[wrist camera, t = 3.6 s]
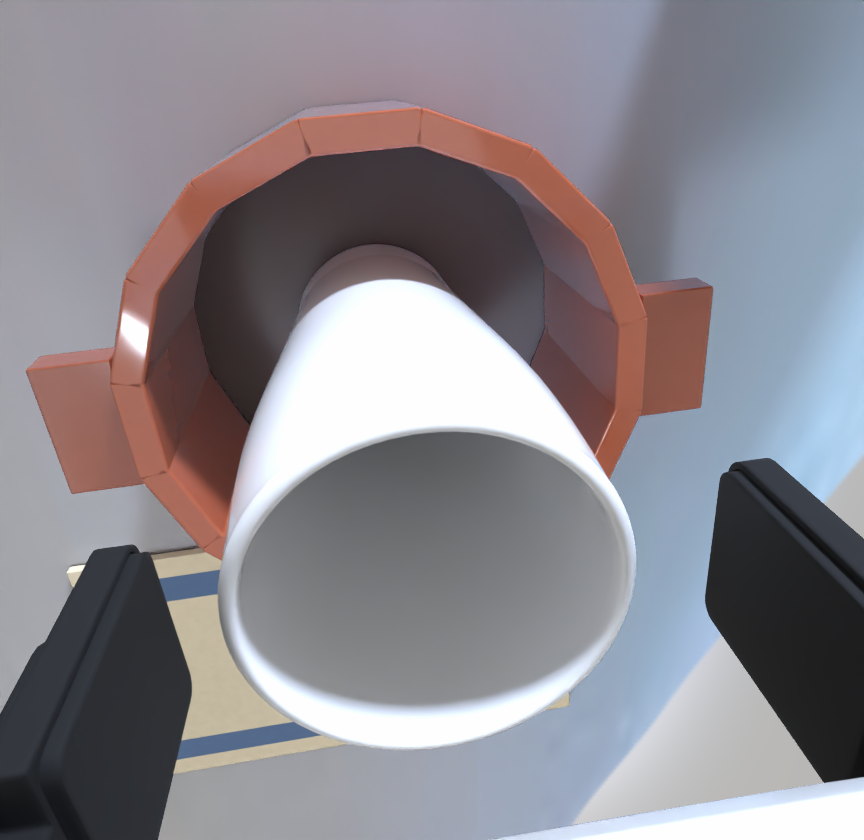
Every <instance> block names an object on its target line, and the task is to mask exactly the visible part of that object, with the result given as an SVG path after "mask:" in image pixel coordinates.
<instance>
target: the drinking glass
mask: <svg viewBox="0 0 864 840" xmlns="http://www.w3.org/2000/svg"><path fill="white" fill-rule="evenodd" d="M635 578H636V547H635V540H634V534H633V530H632V526H631V523H630V519H629V516H628V514H627V512H626V509H625V507H624V504H623V502H622V500H621V498H620V497H619V495H618V493H617V491H616V489H615V488H614V486H613V485H612V483H611V482H610V480H609V479H608V477H607V476H606V474H605V472H604V470H603V469H602V467H601V465H600V463H599V462H598V460H597V458H596V456H595V455H594V453H593V451H592V450H591V448H590V446H589V445H588V443H587V442H586V440H585V438H584V437H583V435H582V434H581V432H580V431H579V429H578V428H577V426H576V425H575V423H574V422H573V420H572V419H571V417H570V416H569V415H568V413H567V412H566V410H565V409H564V408H563V406H562V405H561V403H560V402H559V401H558V399H557V398H556V397H555V395H554V394H553V393H552V391H551V390H550V389H549V387H548V386H547V385H546V384H545V383H544V381H543V380H542V379H541V378H540V377H539V375H538V374H537V373H536V372H535V371H534V370H533V369H532V368H531V367H530V365H529V364H528V363H527V362H526V361H525V360H524V359H523V358H522V357H521V356H520V355H519V354H518V353H517V352H516V351H515V350H514V349H513V348H512V347H511V346H510V345H509V344H508V343H507V342H506V341H505V340H504V339H503V338H502V337H501V336H500V335H499V334H498V333H496V332H495V331H494V330H493V329H492V328H491V327H490V326H489V325H488V324H487V323H486V322H485V321H484V320H483V319H481V318H480V317H479V316H478V315H477V314H476V313H475V312H474V311H473V310H472V309H471V308H470V307H469V306H468V305H467V304H466V303H464V302H463V301H462V300H461V299H460V298H459V297H458V296H457V295H456V294H455V293H454V292H453V291H452V290H451V289H450V288H449V287H448V286H447V284H446V283H445V281H444V279H443V278H442V277H441V275H440V274H439V273H438V272H437V271H436V269H435V268H434V267H433V266H432V265H430V264H429V263H428V262H427V261H426V260H424V259H423V258H421V257H420V256H418V255H417V254H415V253H413V252H411V251H408V250H406V249H403V248H400V247H397V246H392V245H385V244H369V245H362V246H357V247H354V248H350V249H348V250H345V251H343V252H341V253H339V254H337V255H336V256H334V257H333V258H331V259H330V260H328V261H327V262H326V263H325V264H323V265H322V266H321V267H320V268H319V269H318V270H317V272H316V273H315V274H314V275H313V277H312V278H311V280H310V281H309V283H308V285H307V286H306V288H305V290H304V293H303V295H302V298H301V302H300V305H299V311H298V316H297V319H296V321H295V323H294V326H293V328H292V330H291V332H290V335H289V337H288V339H287V341H286V344H285V346H284V348H283V350H282V353H281V355H280V357H279V359H278V361H277V363H276V366H275V368H274V370H273V372H272V374H271V377H270V379H269V381H268V383H267V385H266V388H265V390H264V392H263V395H262V397H261V399H260V402H259V404H258V407H257V409H256V412H255V414H254V417H253V419H252V422H251V425H250V428H249V430H248V434H247V437H246V440H245V443H244V447H243V450H242V454H241V458H240V462H239V465H238V469H237V473H236V477H235V482H234V486H233V491H232V496H231V502H230V507H229V513H228V520H227V526H226V533H225V540H224V547H223V555H222V563H221V567H220V573H219V580H218V601H217V602H218V612H219V621H220V625H221V629H222V633H223V637H224V640H225V643H226V645H227V648H228V651H229V653H230V655H231V657H232V659H233V661H234V663H235V665H236V667H237V668H238V670H239V671H240V673H241V674H242V676H243V677H244V679H245V680H246V681H247V683H248V684H249V685H250V686H251V687H252V688H253V689H254V691H255V692H256V693H257V694H258V695H259V696H260V697H261V698H262V699H263V700H264V701H266V702H267V703H268V704H269V705H270V706H271V707H272V708H274V709H275V710H277V711H278V712H279V713H281V714H282V715H283V716H285V717H286V718H288V719H290V720H291V721H293V722H295V723H296V724H298V725H300V726H302V727H304V728H306V729H308V730H310V731H312V732H315V733H317V734H320V735H322V736H325V737H328V738H330V739H334V740H337V741H340V742H344V743H347V744H352V745H357V746H362V747H368V748H376V749H386V750H423V749H435V748H442V747H449V746H454V745H459V744H464V743H468V742H472V741H476V740H479V739H482V738H486V737H489V736H492V735H494V734H497V733H500V732H503V731H505V730H507V729H510V728H512V727H514V726H516V725H519V724H521V723H523V722H525V721H527V720H528V719H530V718H532V717H534V716H536V715H538V714H539V713H541V712H542V711H544V710H546V709H547V708H549V707H550V706H552V705H553V704H555V703H556V702H557V701H559V700H560V699H561V698H563V697H564V696H565V695H567V694H568V693H569V692H570V691H571V690H572V689H574V688H575V687H576V686H577V685H578V684H579V683H580V682H581V681H582V680H583V679H584V678H585V677H586V676H587V675H588V674H589V673H590V672H591V671H592V670H593V669H594V668H595V666H596V665H597V664H598V663H599V662H600V660H601V659H602V658H603V656H604V655H605V654H606V652H607V651H608V649H609V648H610V647H611V645H612V643H613V641H614V640H615V638H616V636H617V635H618V633H619V631H620V629H621V627H622V624H623V622H624V620H625V618H626V615H627V612H628V609H629V606H630V603H631V600H632V595H633V591H634V586H635Z"/></svg>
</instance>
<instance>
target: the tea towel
mask: <svg viewBox="0 0 864 840" xmlns="http://www.w3.org/2000/svg"><path fill="white" fill-rule="evenodd" d="M151 557H152V559H153V562H154V565H155V568H156V571H157V574H158V577H159V580H160V583H161V586H162V589H163V592H164V595H165V598H166V601H167V604H168V608H169V611H170V614H171V617H172V620H173V623H174V626H175V629H176V632H177V635H178V638H179V641H180V644H181V647H182V650H183V653H184V656H185V659H186V662H187V665H188V668H189V671H190V675H191V680H192V697H191V702H190V706H189V710H188V714H187V719H186V723H185V727H184V731H183V735H182V740H181V744H180V748H179V752H178V756H177V761H176V765H175V769H174V773H173V774H176V773H182V772H188V771H194V770H200V769H205V768H211V767H217V766H223V765H229V764H235V763H240V762H246V761H252V760H258V759H264V758H269V757H275V756H281V755H287V754H293V753H299V752H304V751H310V750H316V749H322V748H328V747H334V746H339V745H345V744H347V743H344V742H340V741H337V740H334V739H330V738H328V737H325V736H322V735H320V734H317V733H315V732H312V731H310V730H308V729H306V728H304V727H302V726H300V725H298V724H296V723H295V722H293V721H291V720H290V719H288V718H286V717H285V716H283V715H282V714H281V713H279V712H278V711H277V710H275V709H274V708H272V707H271V706H270V705H269V704H268V703H267V702H266V701H264V700H263V699H262V698H261V697H260V696H259V695H258V694H257V693H256V692H255V691H254V689H253V688H252V687H251V686H250V685H249V684H248V683H247V681H246V680H245V679H244V677H243V676H242V674H241V673H240V671H239V670H238V668H237V667H236V665H235V663H234V661H233V659H232V657H231V655H230V653H229V651H228V648H227V645H226V643H225V640H224V637H223V633H222V629H221V625H220V621H219V612H218V602H217V601H218V580H219V573H220V567H221V563H222V561H221V560H219V559H218V558H216V557H214V556H212V555H210V554H208V553H206V552H204V551H203V549H202V548H196V549H189V550H182V551H175V552H169V553H162V554H155V555H151ZM84 567H85V565H79V566H72V567H70V568H69V569H68V571H67V575H68V577H69V580H70V582H71V585H72V587H73V588H74V586H75V584H76V582H77V580H78V578H79V576H80V574H81V573H82V571H83V569H84ZM569 693H570V692H569ZM569 693H568V694H567V695H565V696H564V697H563V698H561V699H560V700H559V701H557V702H556V703H555V704H553V705H552V706H550V707H549V708H547V709H546V710H549V709H555V708H561V707H566V706H569Z"/></svg>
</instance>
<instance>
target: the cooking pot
mask: <svg viewBox="0 0 864 840" xmlns="http://www.w3.org/2000/svg"><path fill="white" fill-rule="evenodd" d="M416 146H418V147H421V148H424V149H427V150H430V151H433V152H436V153H439V154H442V155H445V156H448V157H451V158H454V159H457V160H460V161H463V162H466V163H469V164H472V165H475V166H478V167H480V168H481V169H482V170H483V171H484V172H485V173H486V174H487V175H488V176H490V177H491V178H492V179H493V180H494V181H495V182H496V183H497V184H498V185H499V186H500V187H501V188H503V189H504V190H505V191H506V192H507V193H508V194H509V195H510V196H511V197H512V198H513V199H514V200H515V201H517V203H518V206H519V208H520V210H521V213H522V215H523V217H524V219H525V222H526V224H527V226H528V229H529V231H530V233H531V236H532V238H533V240H534V242H535V245H536V247H537V249H538V252H539V254H540V256H541V258H542V261H543V263H544V332H543V334H542V337H541V339H540V342H539V345H538V347H537V350H536V352H535V355H534V357H533V360H532V362H531V365H530V367H531V368H532V369H533V370H534V371H535V372H536V373H537V374H538V375H539V377H540V378H541V379H542V380H543V381H544V383H545V384H546V385H547V386H548V387H549V389H550V390H551V391H552V393H553V394H554V395H555V397H556V398H557V399H558V401H559V402H560V403H561V405H562V406H563V408H564V409H565V410H566V412H567V413H568V415H569V416H570V417H571V419H572V420H573V422H574V423H575V425H576V426H577V428H578V429H579V431H580V432H581V434H582V435H583V437H584V438H585V440H586V442H587V443H588V445H589V446H590V448H591V450H592V451H593V453H594V455H595V456H596V458H597V460H598V462H599V463H600V465H601V467H602V469H603V470H604V472H605V474H606V476H607V477H608V479H610V477H611V474H612V472H613V470H614V468H615V466H616V464H617V462H618V460H619V458H620V456H621V453H622V451H623V449H624V447H625V445H626V443H627V441H628V439H629V437H630V435H631V432H632V430H633V428H634V426H635V424H636V422H637V420H638V418H639V416H645V415H652V414H659V413H667V412H674V411H681V410H688V409H696V408H700V407H701V402H702V392H703V383H704V373H705V364H706V354H707V344H708V335H709V325H710V316H711V306H712V296H713V286H711V285H709V284H707V283H705V282H703V281H701V280H699V279H698V278H689V279H681V280H672V281H664V282H656V283H647V284H639V285H636V284H635V282H634V279H633V276H632V274H631V271H630V268H629V266H628V263H627V260H626V258H625V255H624V252H623V250H622V247H621V244H620V241H619V239H618V236H617V233H616V231H615V228H614V226H613V225H612V224H611V222H610V220H609V219H608V218H607V217H606V216H605V215H604V214H603V213H602V212H601V211H600V210H599V209H598V208H597V207H596V206H595V205H594V204H593V203H592V202H591V201H590V200H589V199H588V198H587V197H586V196H585V195H584V194H583V193H582V192H581V191H580V190H579V189H578V188H576V187H575V186H574V185H573V184H572V183H571V182H570V181H569V180H568V179H567V178H566V177H565V176H564V175H563V174H562V173H561V172H560V171H559V170H558V169H557V168H556V167H555V166H554V165H553V164H552V163H551V162H550V161H549V160H548V159H547V158H546V157H545V156H544V155H543V154H542V153H541V152H540V151H539V150H538V149H536V148H533V147H532V146H531V145H530V144H527V143H525V142H522V141H519V140H516V139H513V138H510V137H507V136H505V135H502V134H499V133H496V132H493V131H490V130H487V129H485V128H482V127H479V126H476V125H473V124H470V123H468V122H465V121H462V120H459V119H456V118H453V117H450V116H448V115H445V114H442V113H439V112H436V111H433V110H430V109H428V108H424V107H420V106H416V105H412V104H408V103H404V102H400V101H394V100H386V101H376V102H365V103H354V104H344V105H333V106H322V107H312V108H307V109H303V110H302V111H300V112H298V113H297V114H295V115H293V116H291V117H290V118H288V119H286V120H285V121H283V122H281V123H279V124H278V125H276V126H274V127H273V128H271V129H269V130H267V131H266V132H264V133H262V134H261V135H259V136H257V137H255V138H254V139H252V140H250V141H249V142H247V143H245V144H243V145H242V146H240V147H238V148H237V149H235V150H233V151H231V152H230V153H229V154H227V155H226V156H224V157H223V158H221V159H220V160H219V161H217V162H216V163H214V164H213V165H211V166H210V167H209V168H207V169H206V170H204V171H203V172H201V173H200V174H199V175H197V176H196V177H194V178H193V179H192V180H191V181H190V182H189V183H188V184H187V185H186V187H185V188H184V190H183V191H182V192H181V194H180V195H179V197H178V198H177V200H176V201H175V203H174V204H173V206H172V207H171V209H170V210H169V212H168V213H167V215H166V216H165V218H164V219H163V220H162V222H161V223H160V225H159V226H158V228H157V229H156V231H155V232H154V234H153V235H152V237H151V238H150V240H149V241H148V243H147V244H146V246H145V247H144V249H143V250H142V251H141V253H140V254H139V256H138V257H137V259H136V260H135V262H134V263H133V265H132V266H131V268H130V269H129V271H128V272H127V274H126V278H125V280H124V282H123V289H122V296H121V303H120V311H119V318H118V325H117V332H116V339H115V346H114V347H113V348H104V349H96V350H88V351H79V352H71V353H63V354H54V355H46V356H40V357H39V358H38V359H37V360H36V361H35V362H34V363H33V364H32V365H31V366H30V367H28V368H27V369H26V373H27V376H28V379H29V381H30V384H31V387H32V389H33V392H34V395H35V397H36V400H37V403H38V405H39V408H40V411H41V413H42V416H43V419H44V421H45V424H46V427H47V429H48V432H49V435H50V437H51V440H52V443H53V445H54V448H55V451H56V453H57V456H58V459H59V462H60V464H61V467H62V470H63V472H64V475H65V478H66V480H67V483H68V486H69V488H70V491H71V493H72V494H75V493H82V492H90V491H97V490H104V489H112V488H119V487H126V486H134V485H141V484H145V485H146V486H147V487H148V488H149V490H150V491H151V492H152V493H153V494H154V495H155V497H156V498H157V499H158V500H159V501H160V502H161V503H162V505H163V506H164V507H165V508H166V509H167V510H168V511H169V513H170V514H171V515H172V516H173V517H174V518H175V519H176V521H177V522H178V523H179V524H180V525H181V526H182V527H183V529H184V530H185V531H186V532H187V533H188V534H189V535H190V537H191V538H192V539H193V540H194V541H195V542H196V543H197V545H198V546H199V547H200V548H202V549H203V551H204V552H206V553H208V554H210V555H212V556H214V557H216V558H218V559H219V560H221V561H222V555H223V547H224V540H225V533H226V526H227V520H228V513H229V507H230V502H231V496H232V491H233V486H234V482H235V477H236V473H237V469H238V465H239V462H240V458H241V454H242V450H243V447H244V443H245V440H246V437H247V434H248V430H249V428H250V424H249V423H248V422H247V421H246V420H245V418H244V417H243V416H242V414H241V413H240V412H239V410H238V409H237V408H236V406H235V405H234V404H233V402H232V401H231V400H230V398H229V397H228V396H227V394H226V393H225V391H224V390H223V389H222V387H221V386H220V385H219V383H218V382H217V381H216V379H215V378H214V377H213V375H212V374H211V373H210V371H209V367H208V362H207V358H206V354H205V350H204V346H203V342H202V338H201V334H200V330H199V326H198V321H197V317H196V313H195V309H194V305H193V304H194V299H195V293H196V288H197V282H198V277H199V272H200V266H201V261H202V255H203V250H204V244H205V239H206V235H207V233H208V232H209V230H210V229H211V228H212V226H213V225H214V223H215V222H216V221H217V219H218V218H219V216H220V215H221V213H222V212H223V211H224V209H225V208H226V206H227V205H228V204H230V203H231V202H233V201H235V200H237V199H238V198H240V197H242V196H243V195H245V194H247V193H249V192H250V191H252V190H254V189H256V188H257V187H259V186H261V185H263V184H264V183H266V182H268V181H269V180H271V179H273V178H275V177H276V176H278V175H280V174H282V173H283V172H285V171H287V170H289V169H290V168H292V167H294V166H296V165H297V164H299V163H301V162H302V161H304V160H306V159H308V158H309V157H316V156H326V155H336V154H346V153H356V152H366V151H376V150H386V149H396V148H406V147H416Z"/></svg>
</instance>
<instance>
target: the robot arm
mask: <svg viewBox="0 0 864 840" xmlns="http://www.w3.org/2000/svg"><path fill="white" fill-rule="evenodd" d="M705 603H706V608H707V611H708V614H709V616H710V618H711V620H712V621H713V623H714V624H715V626H716V627H717V629H718V630H719V632H720V633H721V635H722V636H723V637H724V639H725V640H726V642H727V643H728V645H729V646H730V648H731V649H732V650H733V652H734V653H735V655H736V656H737V658H738V659H739V660H740V662H741V663H742V665H743V666H744V668H745V669H746V671H747V672H748V674H749V675H750V676H751V678H752V679H753V681H754V682H755V684H756V685H757V687H758V688H759V690H760V691H761V692H762V694H763V695H764V697H765V698H766V700H767V701H768V703H769V704H770V705H771V707H772V708H773V710H774V711H775V713H776V714H777V716H778V717H779V718H780V720H781V721H782V723H783V724H784V726H785V727H786V729H787V730H788V731H789V733H790V734H791V736H792V737H793V739H794V740H795V741H796V743H797V744H798V746H799V747H800V749H801V750H802V751H803V753H804V755H805V756H806V758H807V759H808V760H809V762H810V763H811V765H812V766H813V768H814V769H815V770H816V772H817V773H818V775H819V776H820V778H821V779H822V781H823V782H824V783H821V784H815V785H808V786H803V787H796V788H790V789H784V790H778V791H773V792H767V793H760V794H755V795H749V796H742V797H736V798H731V799H724V800H718V801H713V802H706V803H700V804H694V805H689V806H683V807H677V808H670V809H664V810H659V811H653V812H646V813H641V814H635V815H629V816H623V817H617V818H611V819H606V820H600V821H595V822H588V823H582V824H576V825H571V826H565V827H559V828H553V829H547V830H542V831H536V832H530V833H524V834H519V835H513V836H507V837H501V838H495V839H490V840H864V539H863V538H862V537H861V536H860V535H859V534H858V533H856V532H855V531H854V530H853V529H852V528H851V527H849V526H848V525H847V524H846V523H845V522H844V521H842V519H840V518H839V517H838V516H837V515H836V514H835V513H834V512H832V511H831V510H830V509H829V508H828V507H827V506H825V505H824V504H823V503H822V502H821V501H820V500H819V499H817V498H816V497H815V496H814V495H813V494H812V493H811V492H809V491H808V490H807V489H806V488H805V487H804V486H803V485H801V484H800V483H799V482H798V481H797V480H796V479H795V478H793V477H792V476H791V475H790V474H789V473H788V472H787V471H785V470H784V469H783V468H782V467H781V466H780V465H779V464H777V463H776V462H775V461H774V460H772V459H770V458H764V459H756V460H749V461H742V462H735V463H733V464H732V465H731V467H730V468H729V472H725V473H723V474H722V476H721V478H720V483H719V491H718V499H717V507H716V515H715V523H714V530H713V538H712V546H711V554H710V562H709V570H708V578H707V586H706V594H705ZM191 697H192V680H191V675H190V671H189V668H188V665H187V662H186V659H185V656H184V653H183V650H182V647H181V644H180V641H179V638H178V635H177V632H176V629H175V626H174V623H173V620H172V617H171V614H170V611H169V608H168V604H167V601H166V598H165V595H164V592H163V589H162V586H161V583H160V580H159V577H158V574H157V571H156V568H155V565H154V562H153V559H152V557H151V555H150V554H149V553H148V552H142V553H140V552H139V550H138V548H137V547H136V546H135V545H125V546H118V547H110V548H103V549H97V550H94V551H93V553H92V554H91V555H90V557H89V559H88V561H87V563H86V565H85V567H84V569H83V571H82V573H81V574H80V576H79V578H78V580H77V582H76V584H75V586H74V588H73V590H72V592H71V594H70V596H69V597H68V599H67V601H66V603H65V605H64V607H63V609H62V611H61V613H60V615H59V617H58V618H57V620H56V622H55V624H54V626H53V628H52V630H51V632H50V634H49V636H48V638H47V640H46V641H45V642H44V643H43V644H41V645H40V646H38V647H37V649H36V650H35V651H34V653H33V654H32V656H31V658H30V659H29V661H28V663H27V665H26V667H25V669H24V671H23V673H22V674H21V676H20V678H19V680H18V682H17V684H16V686H15V688H14V689H13V691H12V693H11V695H10V697H9V699H8V701H7V703H6V704H5V706H4V708H3V710H2V712H1V714H0V840H158V836H159V832H160V828H161V824H162V819H163V815H164V811H165V807H166V803H167V798H168V794H169V790H170V786H171V782H172V777H173V773H174V769H175V765H176V761H177V756H178V752H179V748H180V744H181V740H182V735H183V731H184V727H185V723H186V719H187V714H188V710H189V706H190V702H191Z"/></svg>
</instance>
